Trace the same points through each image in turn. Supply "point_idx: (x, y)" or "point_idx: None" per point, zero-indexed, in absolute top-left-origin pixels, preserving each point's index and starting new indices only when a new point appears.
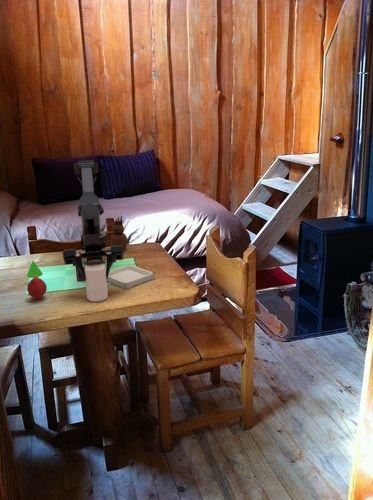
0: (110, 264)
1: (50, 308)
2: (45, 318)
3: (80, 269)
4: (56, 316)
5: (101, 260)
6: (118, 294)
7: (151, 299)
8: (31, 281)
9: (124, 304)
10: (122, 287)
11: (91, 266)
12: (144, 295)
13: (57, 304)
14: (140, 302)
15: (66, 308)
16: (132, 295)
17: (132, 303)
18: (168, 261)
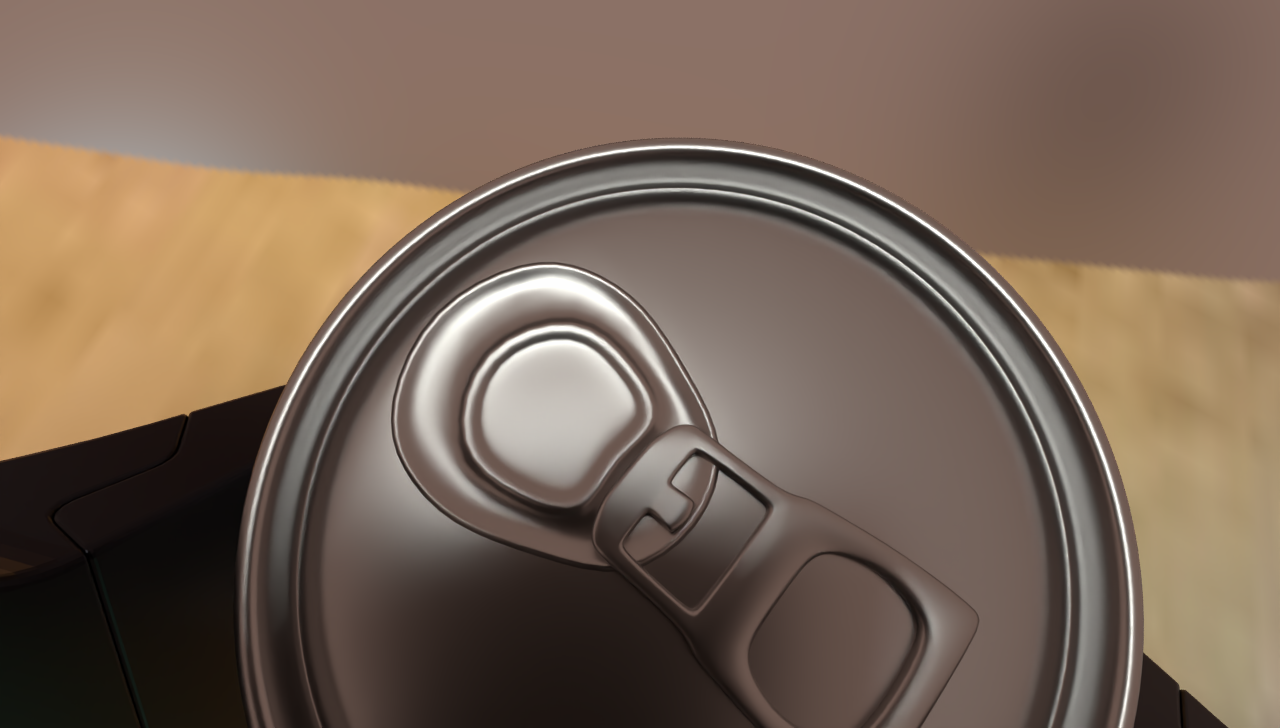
0: (81, 471)
1: (1228, 534)
2: (1271, 300)
3: (1171, 679)
4: (1160, 290)
5: (264, 709)
6: None
7: (106, 184)
8: None
9: (426, 212)
10: None
11: (908, 234)
12: (100, 325)
13: (1145, 614)
14: (253, 174)
15: None
16: (220, 400)
17: (340, 193)
18: None
